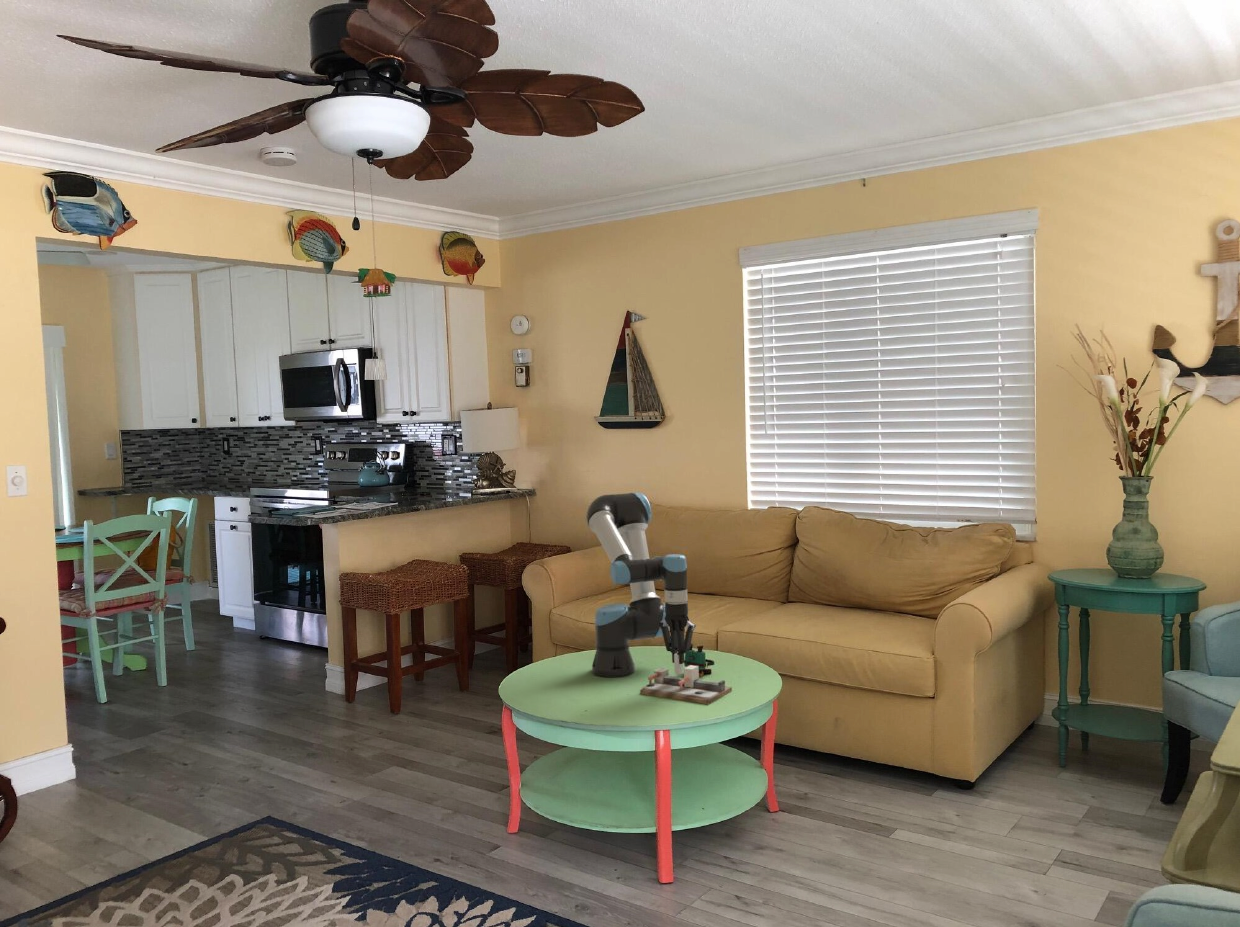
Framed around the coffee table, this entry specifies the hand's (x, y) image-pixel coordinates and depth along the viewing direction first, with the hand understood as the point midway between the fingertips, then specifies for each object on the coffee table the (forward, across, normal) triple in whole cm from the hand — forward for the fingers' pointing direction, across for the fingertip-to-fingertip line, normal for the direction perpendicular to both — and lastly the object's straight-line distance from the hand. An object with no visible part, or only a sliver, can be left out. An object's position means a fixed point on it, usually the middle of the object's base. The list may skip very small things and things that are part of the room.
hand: (678, 672), depth 310 cm
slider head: (+4, +5, -3) cm, 6 cm away
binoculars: (+5, -3, +19) cm, 20 cm away
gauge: (+5, +4, -3) cm, 7 cm away
